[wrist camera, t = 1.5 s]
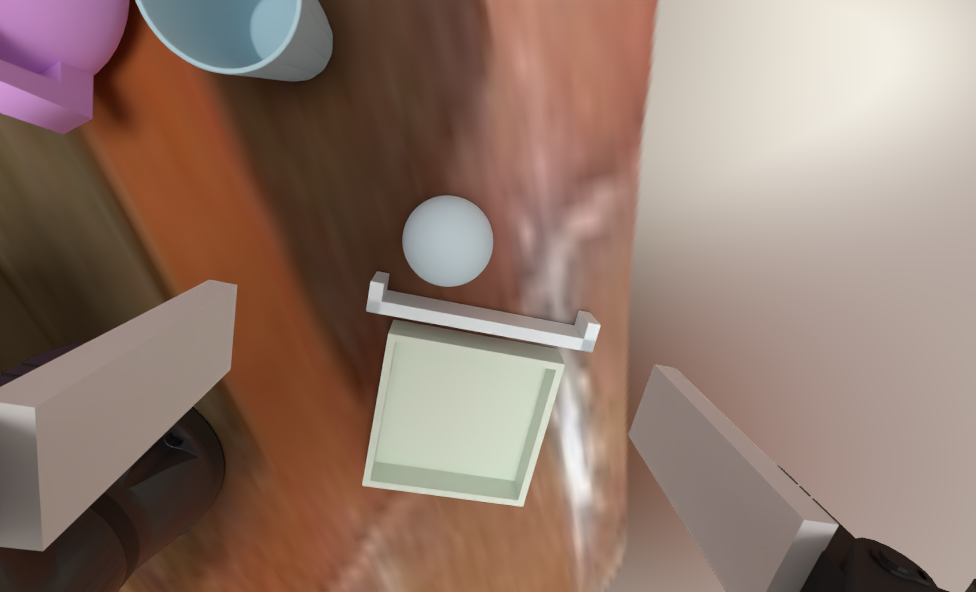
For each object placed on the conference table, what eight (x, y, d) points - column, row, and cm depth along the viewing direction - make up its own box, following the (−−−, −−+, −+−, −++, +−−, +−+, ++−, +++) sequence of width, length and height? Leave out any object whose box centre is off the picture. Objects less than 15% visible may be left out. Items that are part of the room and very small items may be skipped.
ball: (400, 265, 36) (389, 288, 30) (414, 183, 34) (406, 190, 28) (480, 280, 37) (485, 306, 31) (498, 201, 35) (507, 212, 29)
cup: (313, -51, 29) (241, -154, 19) (370, 69, 32) (331, 32, 22) (211, 1, 30) (89, -74, 20) (274, 115, 32) (194, 99, 22)
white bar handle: (372, 299, 37) (365, 311, 34) (377, 271, 36) (370, 281, 33) (582, 338, 39) (592, 352, 36) (589, 312, 38) (600, 325, 35)
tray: (368, 462, 41) (362, 485, 38) (393, 319, 37) (388, 333, 34) (518, 482, 43) (522, 506, 40) (556, 348, 39) (565, 364, 36)
